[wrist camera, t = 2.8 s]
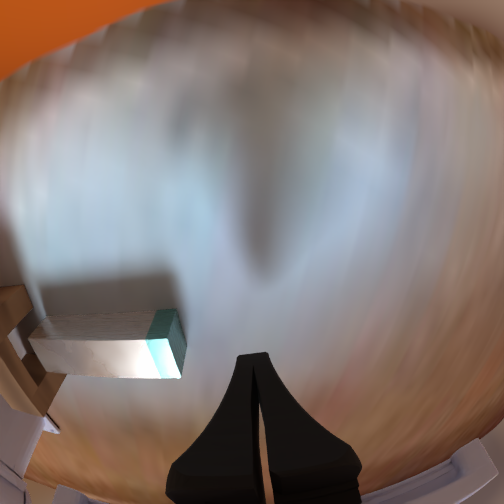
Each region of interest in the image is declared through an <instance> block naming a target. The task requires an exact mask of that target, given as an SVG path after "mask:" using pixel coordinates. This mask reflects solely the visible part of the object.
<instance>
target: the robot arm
mask: <svg viewBox="0 0 504 504" xmlns="http://www.w3.org/2000/svg"><path fill="white" fill-rule="evenodd" d="M259 403H260V408H261V412H262V417H263V421H264V426H265V435H266V444H267V454H268V465H269V473H270V478H271V483H272V488H273V495H274V503H275V504H459V503H460V502H462V501H464V500H465V499H467V498H468V497H470V496H471V495H473V494H474V493H475V492H477V491H478V490H479V489H481V488H482V487H483V486H485V485H486V484H487V483H488V482H489V481H491V480H492V479H493V478H494V477H495V476H497V475H498V471H497V469H496V467H495V465H494V464H493V462H492V460H491V458H490V457H489V455H488V453H487V452H486V450H485V448H484V446H483V445H482V443H481V442H480V440H479V438H476V439H475V440H473V441H471V442H470V443H468V444H467V445H465V446H463V447H462V448H460V449H459V450H457V451H456V452H455V453H454V454H453V455H452V456H451V458H450V459H448V460H447V461H445V462H443V463H441V464H439V465H437V466H435V467H433V468H431V469H429V470H427V471H425V472H423V473H421V474H418V475H416V476H414V477H412V478H409V479H407V480H405V481H402V482H400V483H397V484H395V485H392V486H390V487H387V488H384V489H381V490H378V491H376V492H373V493H370V494H366V495H363V496H360V493H359V490H358V487H359V483H358V480H357V477H358V475H359V473H360V471H361V470H362V465H361V462H360V460H359V458H358V456H357V455H356V453H355V452H354V450H353V449H352V447H351V446H350V445H349V444H347V443H345V442H344V441H342V440H341V439H339V438H338V437H336V436H335V435H333V434H332V433H330V432H329V431H328V430H326V429H325V428H324V427H323V426H321V425H320V424H319V423H318V422H317V421H316V420H314V419H313V418H312V417H311V416H310V415H309V414H308V413H307V412H306V411H305V410H304V409H303V408H302V407H301V406H300V405H299V403H298V402H297V401H296V400H295V399H294V397H293V396H292V395H291V394H290V392H289V391H288V390H287V388H286V387H285V385H284V384H283V382H282V381H281V379H280V378H279V376H278V374H277V373H276V371H275V369H274V367H273V365H272V363H271V360H270V358H269V354H268V353H267V352H261V353H253V354H245V355H239V356H238V357H237V361H236V365H235V369H234V372H233V376H232V378H231V381H230V384H229V386H228V389H227V391H226V393H225V395H224V397H223V399H222V402H221V404H220V405H219V407H218V409H217V411H216V413H215V414H214V416H213V418H212V419H211V421H210V422H209V424H208V425H207V426H206V428H205V429H204V431H203V432H202V433H201V434H200V436H199V437H198V438H197V439H196V440H195V442H194V443H193V444H192V445H191V446H190V447H189V448H188V449H187V450H186V451H185V452H184V453H183V454H182V455H181V456H180V457H179V458H178V459H177V460H176V461H175V462H173V463H172V465H171V468H170V470H169V474H168V477H167V482H166V492H165V494H166V495H167V497H168V498H170V499H171V500H172V501H173V502H174V503H176V504H266V499H265V491H264V483H263V475H262V466H261V457H260V448H259ZM43 430H45V431H49V432H52V433H56V434H60V430H59V429H58V428H57V427H56V425H55V424H54V423H53V422H52V421H51V419H50V418H49V417H48V416H47V415H45V417H44V418H42V417H39V416H35V415H32V414H28V413H25V412H21V411H18V410H15V409H12V408H11V407H10V405H9V404H8V403H7V402H6V400H5V399H4V398H3V396H2V395H1V394H0V504H32V502H31V498H30V494H29V492H28V490H27V489H26V486H27V484H26V482H24V481H23V480H22V479H23V476H24V474H25V471H26V469H27V466H28V464H29V461H30V459H31V456H32V454H33V451H34V449H35V447H36V445H37V442H38V440H39V438H40V436H41V433H42V431H43ZM52 504H108V503H104V502H100V501H97V500H93V499H90V498H88V497H87V496H86V495H84V494H83V493H81V492H79V491H77V490H74V489H71V488H68V487H65V486H62V485H60V484H59V485H58V486H57V489H56V492H55V495H54V499H53V502H52Z"/></svg>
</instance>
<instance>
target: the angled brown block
mask: <svg viewBox="0 0 504 504" xmlns="http://www.w3.org/2000/svg"><path fill="white" fill-rule="evenodd" d="M32 308H33V306H32V303H31V301H30V298H29V296H28V294H27V291H26V289H25V286H24V285H16V286H7V287H0V394H1V395H2V396H3V398H4V399H5V400H6V402H7V403H8V404H9V405H10V407H11V408H12V409H15V410H18V411H21V412H25V413H28V414H32V415H35V416H39V417H42V418H44V417H45V415H46V413H47V411H48V409H49V407H50V405H51V403H52V401H53V399H54V397H55V395H56V393H57V392H58V390H59V388H60V386H61V384H62V382H63V381H64V379H65V377H66V375H67V374H62V373H54V372H46V370H45V368H44V367H43V365H42V363H41V362H40V360H39V358H38V357H37V355H36V354H26V355H25V356H24V357H23V359H22V360H20V358H19V357H18V355H17V353H16V351H15V350H14V348H13V346H12V344H11V342H10V341H9V339H8V337H7V335H8V334H9V333H10V332H11V331H12V330H13V329H14V328H15V326H16V325H17V324H18V323H19V322H20V321H21V320H22V319H23V318H24V317H25V316H26V315H27V313H28V312H29V311H30V310H31V309H32Z"/></svg>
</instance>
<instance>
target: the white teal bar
mask: <svg viewBox="0 0 504 504" xmlns="http://www.w3.org/2000/svg"><path fill="white" fill-rule="evenodd" d="M28 340H29V342H30V344H31V346H32V348H33V350H34V351H35V353H36V355H37V357H38V358H39V360H40V362H41V363H42V365H43V367H44V368H45V370H46V372H54V373H62V374H72V375H83V376H96V377H115V378H181V376H182V370H183V365H184V359H185V354H186V349H187V344H186V341H185V338H184V334H183V331H182V328H181V324H180V321H179V317H178V314H177V310H176V309H166V310H154V311H140V312H125V313H107V314H86V315H56V316H46V317H45V318H44V319H43V320H42V322H41V323H40V324H39V325H38V326H37V328H36V329H35V330H34V331H33V332H32V334H31V335H30V336H29V337H28Z"/></svg>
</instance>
